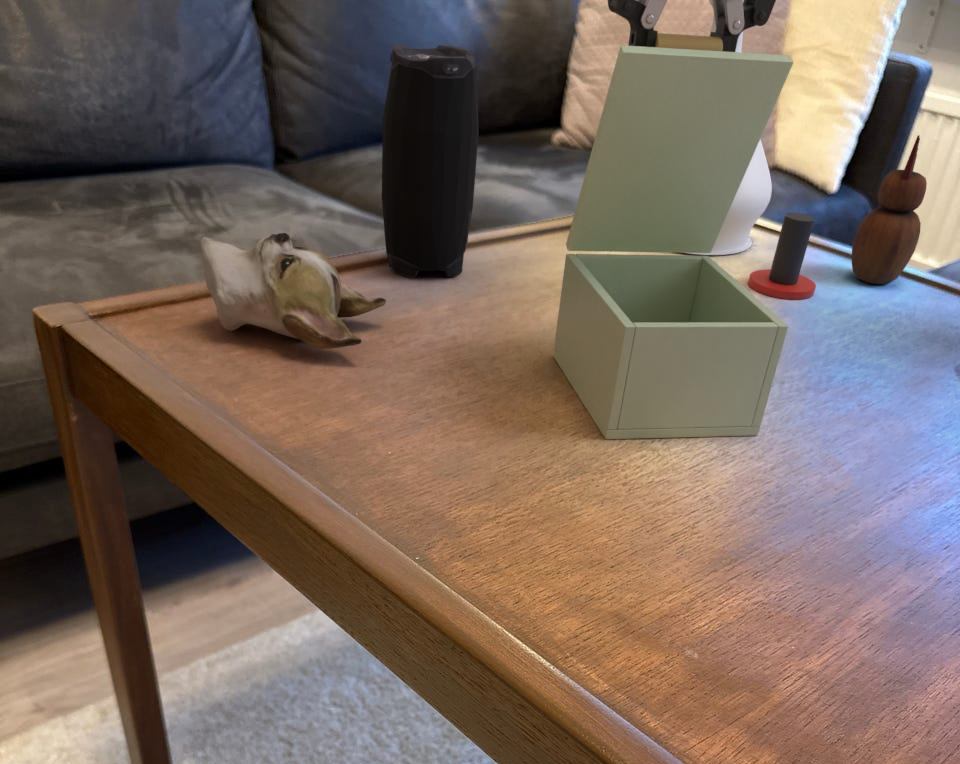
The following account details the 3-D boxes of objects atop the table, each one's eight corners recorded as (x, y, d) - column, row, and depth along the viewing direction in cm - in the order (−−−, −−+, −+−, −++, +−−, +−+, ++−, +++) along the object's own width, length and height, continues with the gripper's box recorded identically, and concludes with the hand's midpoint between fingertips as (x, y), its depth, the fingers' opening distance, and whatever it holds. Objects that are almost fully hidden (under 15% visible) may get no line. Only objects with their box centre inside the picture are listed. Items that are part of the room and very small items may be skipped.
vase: (594, 212, 122) (629, -29, 107) (721, 214, 127) (772, -18, 111) (645, 258, 109) (692, -8, 94) (784, 258, 114) (852, 3, 98)
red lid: (768, 272, 109) (786, 203, 105) (825, 290, 106) (846, 220, 101) (735, 284, 105) (752, 213, 100) (793, 304, 101) (813, 231, 97)
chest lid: (794, 61, 68) (773, 19, 71) (622, 52, 66) (607, 8, 68) (710, 253, 83) (695, 212, 85) (567, 251, 80) (555, 209, 82)
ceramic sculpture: (223, 199, 84) (393, 232, 84) (226, 298, 90) (385, 329, 89) (175, 237, 76) (363, 273, 76) (181, 343, 82) (357, 377, 81)
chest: (758, 435, 77) (789, 326, 71) (605, 439, 74) (625, 326, 69) (686, 354, 89) (708, 255, 83) (552, 356, 86) (565, 253, 81)
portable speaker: (364, 266, 100) (364, 45, 88) (422, 248, 106) (430, 39, 94) (429, 289, 97) (439, 61, 84) (485, 268, 103) (502, 53, 91)
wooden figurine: (880, 293, 107) (930, 141, 97) (834, 276, 110) (879, 129, 100) (911, 282, 110) (963, 136, 101) (867, 267, 113) (912, 123, 104)
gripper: (640, -230, 58) (598, 94, 68) (857, -203, 61) (785, 103, 71) (602, -221, 64) (568, 76, 74) (801, -197, 67) (742, 85, 77)
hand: (675, 88), depth 73 cm, fingers closed on chest lid, 5 cm apart
